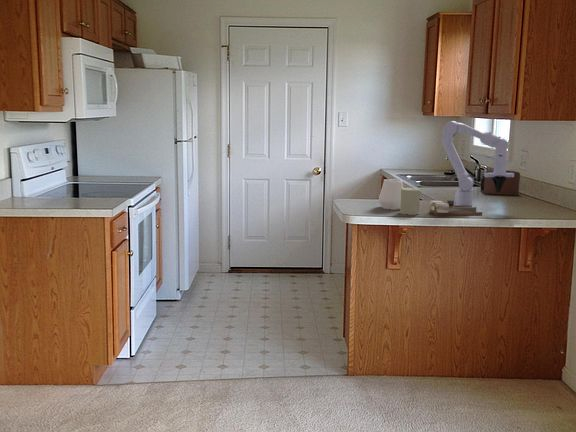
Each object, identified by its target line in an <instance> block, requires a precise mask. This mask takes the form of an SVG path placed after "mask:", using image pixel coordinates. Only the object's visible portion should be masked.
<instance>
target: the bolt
mask: <svg viewBox="0 0 576 432" xmlns="http://www.w3.org/2000/svg"><path fill="white" fill-rule="evenodd" d="M446 203H447V204H449V207H455V206H454V205H455V200H452V199H447V201H446ZM432 210H434V211H436V206H435V205H432Z"/></svg>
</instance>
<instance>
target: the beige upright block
mask: <svg viewBox="0 0 576 432" xmlns="http://www.w3.org/2000/svg"><path fill="white" fill-rule="evenodd" d="M420 198H421V189H420V188H417V187H403V188H401V203H400V209H399V214H401V215H406V214H408V215H409V216H415V215H416V214H417V215H420V203H421V201H420V200H421V199H420ZM408 215H407V216H408ZM417 215H416V216H417Z"/></svg>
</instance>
